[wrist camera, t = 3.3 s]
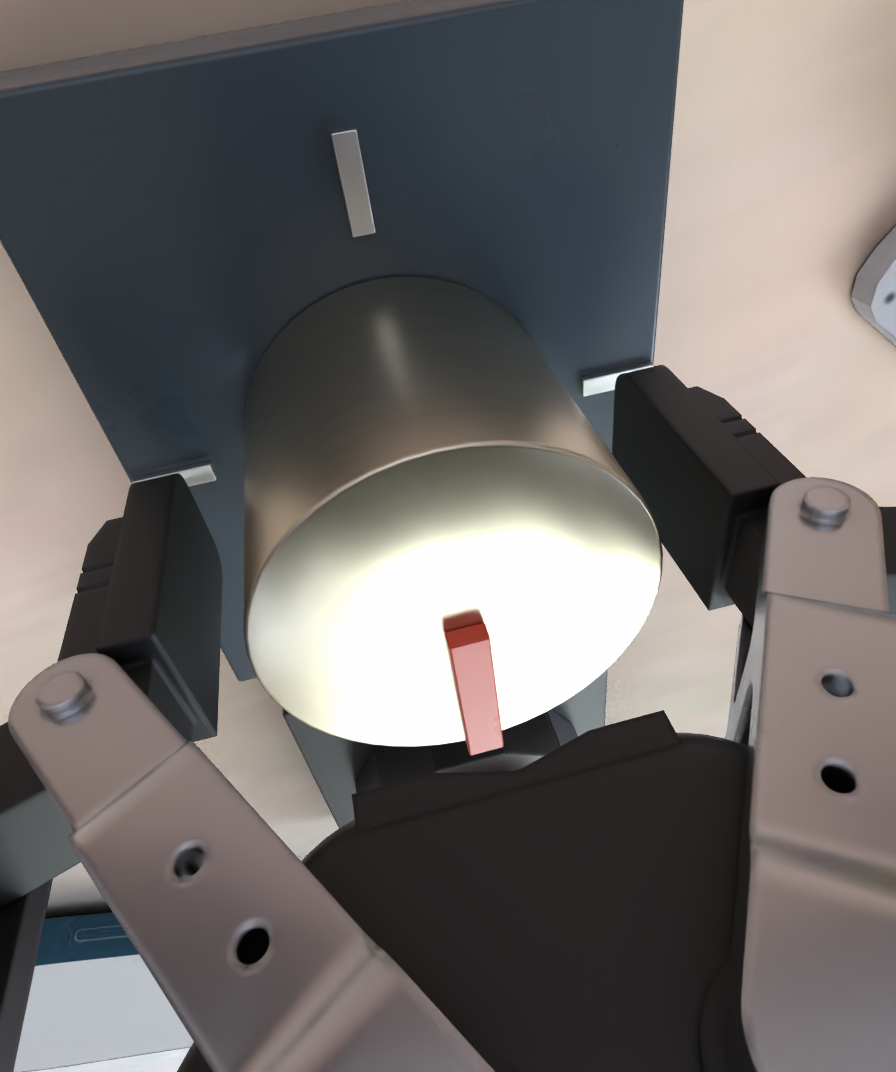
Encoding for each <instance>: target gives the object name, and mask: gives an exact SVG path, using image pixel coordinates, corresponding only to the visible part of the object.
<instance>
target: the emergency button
mask: <svg viewBox="0 0 896 1072" xmlns="http://www.w3.org/2000/svg"><path fill="white" fill-rule="evenodd" d="M851 298H852V301H853V303H854V306H855V309H856V311H857V312H858V313H859V314H860V315H861V316H862V317H863V318H864V319H865V320H867V321H868V322H869V323H870V324H871V325H872V326H873V327H874V328H876V329H877V330H878V331H879V332H880V333H881V334H882V335H883V336H885V337H886V338H887V339H888V340H889V341H890V342H891V343H892V344H894V345H895V346H896V226H895V227H894V228H893V229H892V231H891V232H890V233H889V234H888V235H887V236H886V237H885V238H884V239H883V240H882V241H881V243H880V244H879V245H878V246H877V247H876V248H875V249H874V251H873V252H872V253H871V255H870V256H869V258H868V259H867V261H866V262H865V264H864V265H863V266H862V268H861V269H860V271H859V272H858V274H857V277H856V280H855V284H854V288H853V291H852V295H851Z"/></svg>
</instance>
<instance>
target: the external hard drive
mask: <svg viewBox="0 0 896 1072" xmlns="http://www.w3.org/2000/svg"><path fill="white" fill-rule="evenodd" d="M193 1042H194V1041H193V1040H192V1038H191V1036H190V1035H189V1033H188V1032H187V1030H186V1028H185V1027H184V1025H183V1024H182V1022H181V1020H180V1019H179V1017H178V1016H177V1014H176V1012H175V1011H174V1009H173V1008H172V1006H171V1004H170V1003H169V1001H168V1000H167V998H166V996H165V995H164V993H163V992H162V990H161V989H160V987H159V985H158V984H157V982H156V981H155V979H154V977H153V976H152V974H151V973H150V971H149V969H148V968H147V966H146V965H145V963H144V961H143V960H142V958H141V957H140V955H139V953H138V952H137V950H136V949H135V947H134V945H133V944H132V942H131V941H130V939H129V937H128V936H127V934H126V933H125V931H124V930H123V928H122V926H121V925H120V923H119V922H118V920H117V918H116V917H115V915H114V914H113V912H112V913H101V914H89V915H78V916H67V917H57V918H48V919H44V924H43V929H42V934H41V939H40V944H39V949H38V954H37V959H36V963H35V968H34V973H33V978H32V983H31V988H30V993H29V998H28V1003H27V1007H26V1012H25V1017H24V1022H23V1027H22V1032H21V1037H20V1042H19V1047H18V1051H17V1056H16V1061H15V1066H14V1071H13V1072H27V1071H37V1070H45V1069H53V1068H60V1067H67V1066H73V1065H79V1064H86V1063H92V1062H99V1061H105V1060H112V1059H118V1058H125V1057H131V1056H137V1055H144V1054H150V1053H157V1052H163V1051H170V1050H176V1049H182V1048H189V1047H191V1046H192V1044H193Z"/></svg>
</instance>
